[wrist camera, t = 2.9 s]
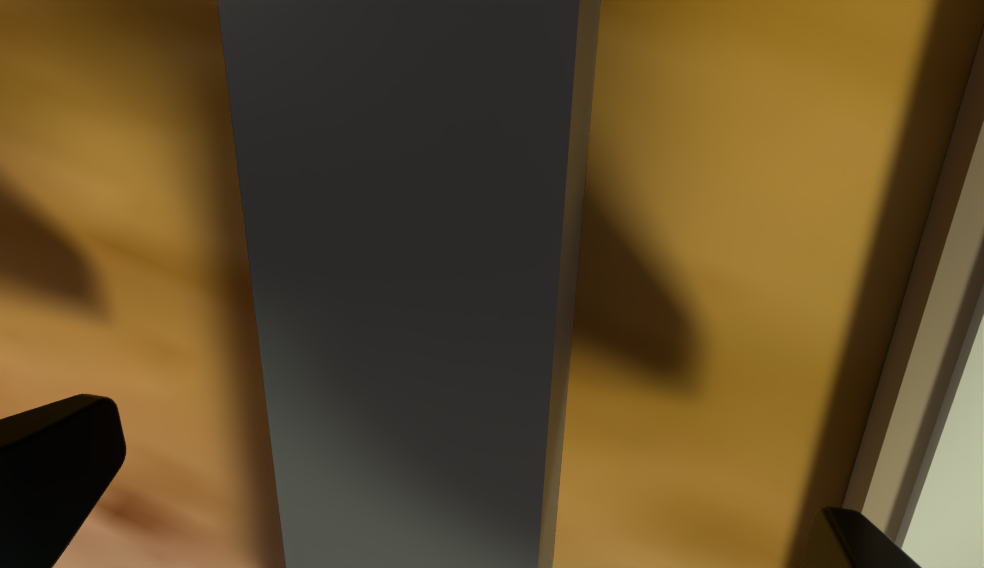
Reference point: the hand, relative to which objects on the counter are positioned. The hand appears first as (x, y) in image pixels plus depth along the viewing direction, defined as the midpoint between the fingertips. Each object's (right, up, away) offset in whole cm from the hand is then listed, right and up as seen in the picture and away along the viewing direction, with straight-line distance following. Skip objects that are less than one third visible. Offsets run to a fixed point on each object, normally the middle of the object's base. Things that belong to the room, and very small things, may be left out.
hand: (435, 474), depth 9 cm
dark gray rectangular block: (0, +1, +2) cm, 2 cm away
